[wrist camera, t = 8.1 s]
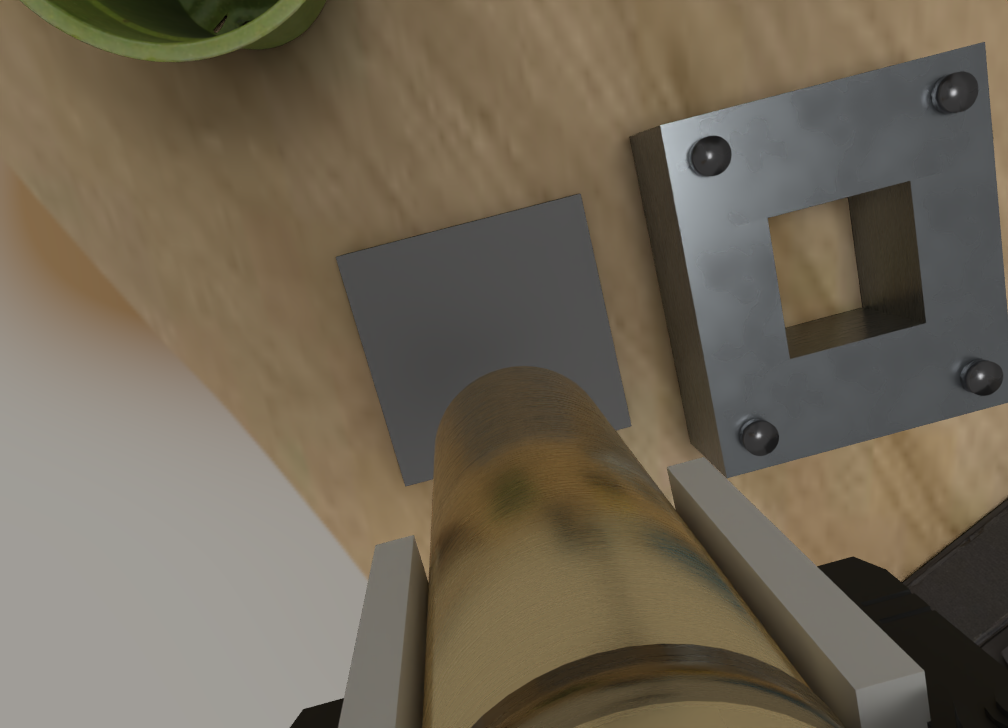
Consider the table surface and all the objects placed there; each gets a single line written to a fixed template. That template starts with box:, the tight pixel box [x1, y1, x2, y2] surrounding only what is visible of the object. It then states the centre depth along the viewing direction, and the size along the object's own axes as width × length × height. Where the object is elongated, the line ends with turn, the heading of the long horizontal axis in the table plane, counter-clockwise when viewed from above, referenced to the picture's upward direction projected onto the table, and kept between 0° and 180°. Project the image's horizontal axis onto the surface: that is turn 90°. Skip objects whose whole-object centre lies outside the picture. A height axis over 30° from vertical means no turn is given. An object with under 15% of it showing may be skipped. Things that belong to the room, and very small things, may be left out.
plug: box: [422, 366, 846, 728], centre depth 14 cm, size 5×5×14 cm
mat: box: [336, 194, 631, 486], centre depth 35 cm, size 12×12×1 cm
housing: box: [630, 42, 1008, 478], centre depth 33 cm, size 16×14×6 cm
